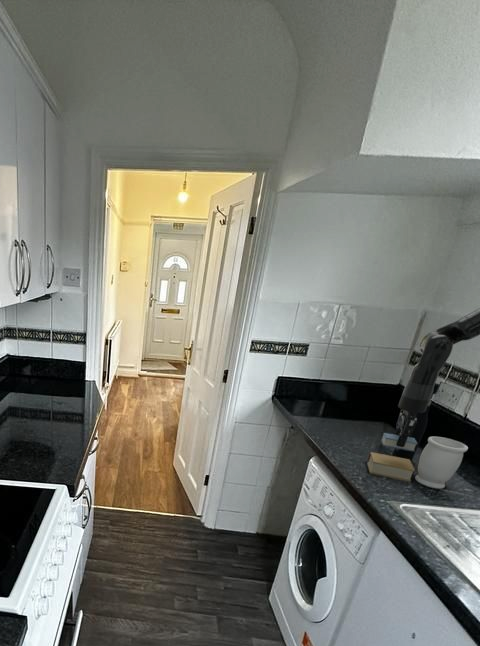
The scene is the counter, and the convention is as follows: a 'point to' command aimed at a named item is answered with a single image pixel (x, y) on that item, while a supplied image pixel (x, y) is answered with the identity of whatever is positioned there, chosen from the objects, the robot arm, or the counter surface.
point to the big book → (390, 466)
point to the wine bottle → (416, 431)
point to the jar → (439, 461)
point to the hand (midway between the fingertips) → (398, 443)
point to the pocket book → (392, 439)
